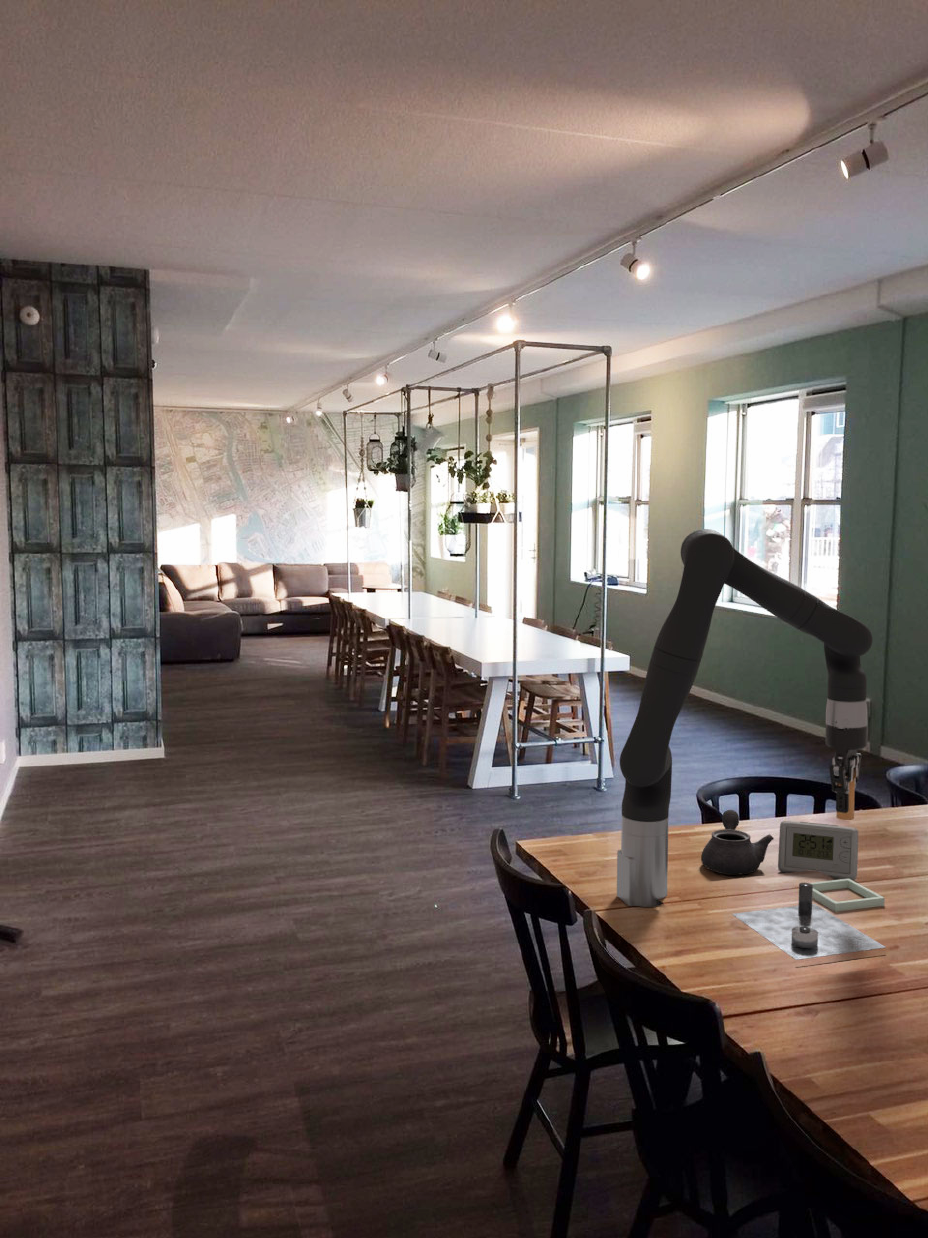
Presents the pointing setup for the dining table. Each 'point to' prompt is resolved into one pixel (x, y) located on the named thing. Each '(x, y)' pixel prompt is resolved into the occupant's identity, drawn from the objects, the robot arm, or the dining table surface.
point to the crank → (805, 919)
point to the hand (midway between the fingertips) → (844, 809)
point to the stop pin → (850, 813)
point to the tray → (869, 900)
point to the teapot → (733, 849)
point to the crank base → (830, 928)
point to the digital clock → (818, 849)
